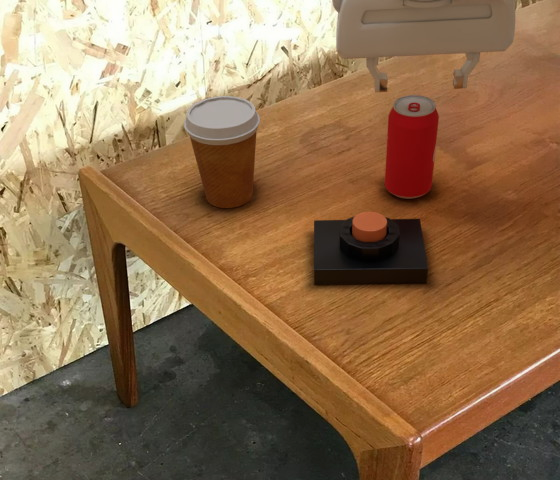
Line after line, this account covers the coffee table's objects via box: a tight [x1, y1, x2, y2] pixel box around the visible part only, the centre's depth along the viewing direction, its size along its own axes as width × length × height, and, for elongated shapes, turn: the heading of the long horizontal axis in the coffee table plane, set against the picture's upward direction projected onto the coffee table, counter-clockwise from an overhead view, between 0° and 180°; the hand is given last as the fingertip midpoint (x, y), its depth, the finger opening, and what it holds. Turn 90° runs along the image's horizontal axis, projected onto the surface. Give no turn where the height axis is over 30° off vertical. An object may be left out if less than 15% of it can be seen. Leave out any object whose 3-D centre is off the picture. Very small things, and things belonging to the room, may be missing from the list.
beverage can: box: [384, 94, 440, 200], centre depth 102 cm, size 6×6×12 cm
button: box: [352, 211, 387, 242], centre depth 92 cm, size 4×4×2 cm
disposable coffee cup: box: [183, 95, 261, 209], centre depth 102 cm, size 10×10×12 cm
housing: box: [313, 215, 429, 286], centre depth 94 cm, size 13×10×4 cm
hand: (420, 88), depth 96 cm, fingers open, 8 cm apart
